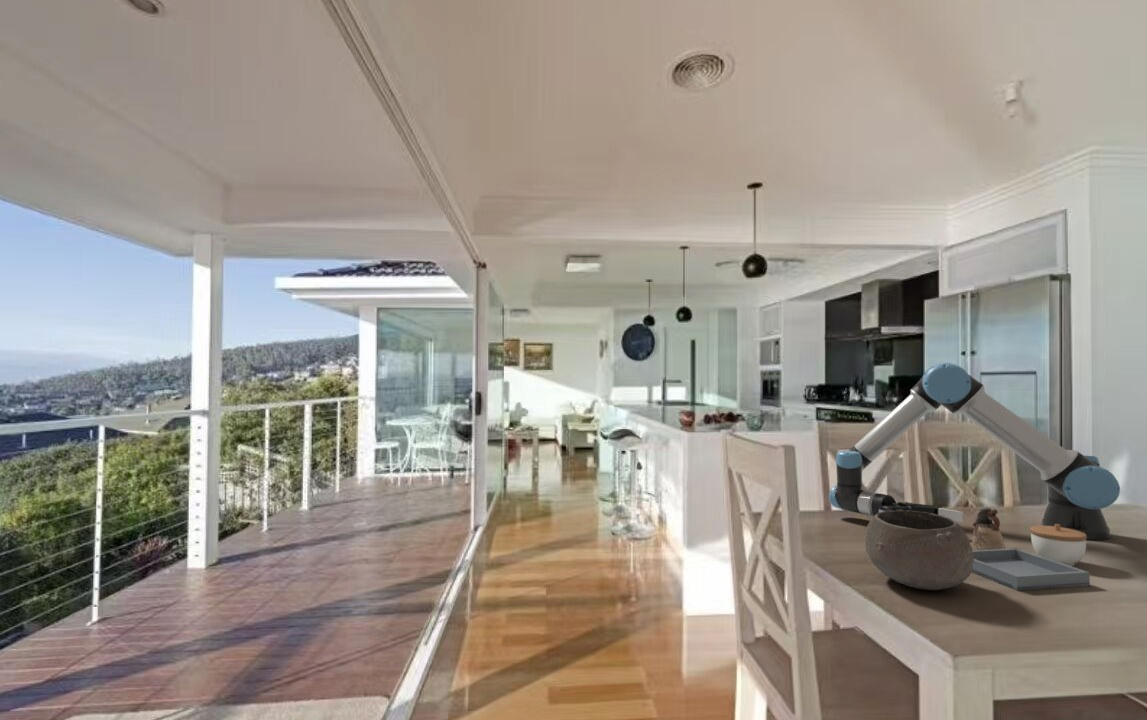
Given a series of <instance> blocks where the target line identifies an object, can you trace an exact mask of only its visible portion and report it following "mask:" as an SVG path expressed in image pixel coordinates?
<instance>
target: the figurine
mask: <svg viewBox="0 0 1147 720" xmlns="http://www.w3.org/2000/svg"><path fill="white" fill-rule="evenodd" d="M998 513H999V512H998V510H997V509H995V508H993V509H991V508H990V507H982V508H980V509H979V510H978V511H977V512H976V516H975V517H974V520H975V521H974V522H973V523H972V526H973V527H974V528H973V530H972V531H973V535H972V541H971V544H970V545H971V548H972V550H990V549H1006V545H1005V541H1004V538H1003V535H1002V530H1001V529H1000V525H1001V524H1000V523H1001V522H1000V519H999V518H998V516H996V515H997V514H998Z"/></svg>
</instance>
